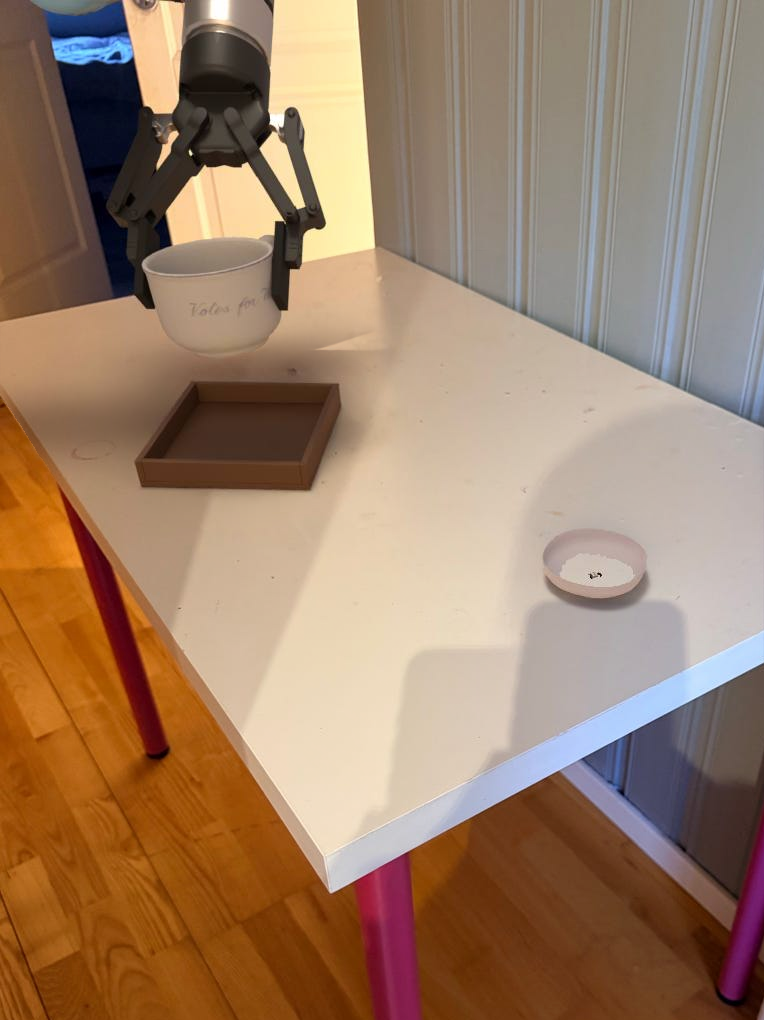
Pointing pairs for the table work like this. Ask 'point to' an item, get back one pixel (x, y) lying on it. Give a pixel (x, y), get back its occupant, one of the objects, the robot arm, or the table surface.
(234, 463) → the tray
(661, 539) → the table surface
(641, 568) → the shallow pink dish
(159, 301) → the teacup
